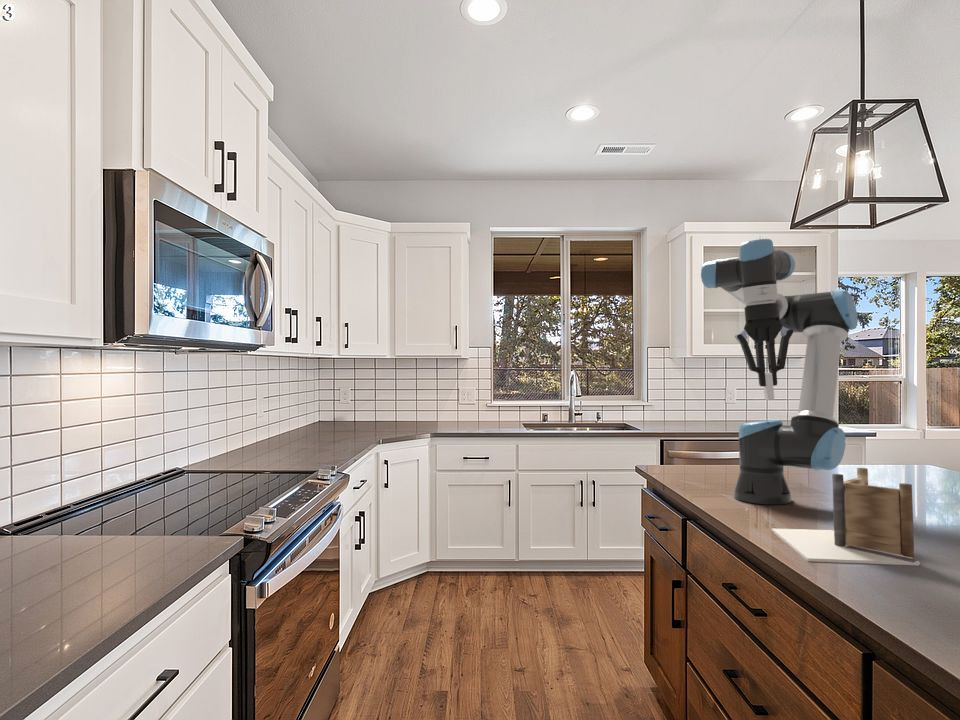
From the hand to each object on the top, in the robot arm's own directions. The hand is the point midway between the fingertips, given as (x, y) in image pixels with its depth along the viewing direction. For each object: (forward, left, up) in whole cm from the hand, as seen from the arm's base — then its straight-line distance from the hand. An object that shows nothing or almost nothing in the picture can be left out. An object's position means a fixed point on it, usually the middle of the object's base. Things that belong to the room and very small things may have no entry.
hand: (769, 399), depth 140 cm
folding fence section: (+21, +14, -30) cm, 39 cm away
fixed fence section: (+12, +13, -31) cm, 35 cm away
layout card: (+15, +8, -31) cm, 36 cm away
